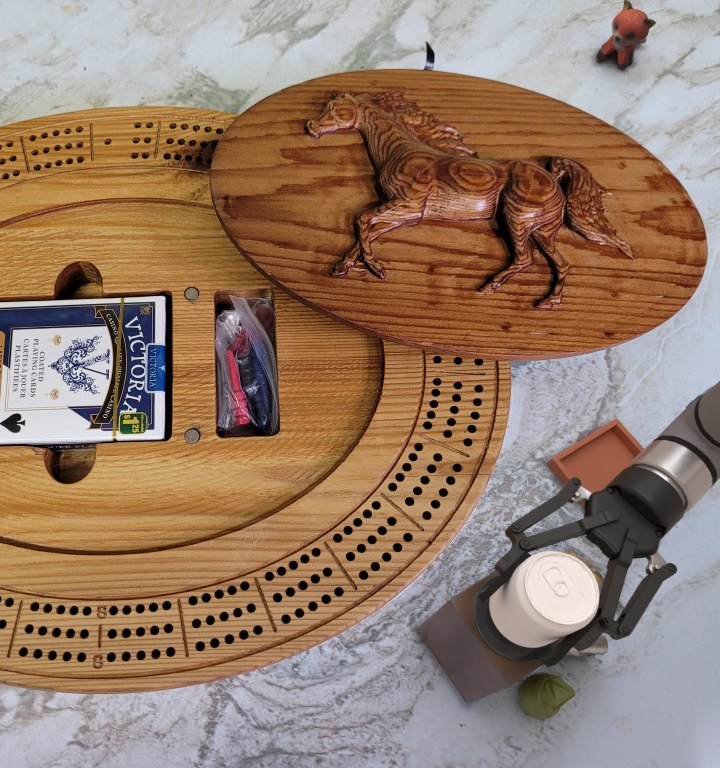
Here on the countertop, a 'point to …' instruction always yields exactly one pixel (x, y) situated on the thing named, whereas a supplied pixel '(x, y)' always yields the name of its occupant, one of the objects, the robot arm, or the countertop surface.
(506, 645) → the coaster
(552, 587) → the beverage can
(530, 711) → the green pointed bulb
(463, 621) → the stand
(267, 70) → the countertop surface
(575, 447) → the tray
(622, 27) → the stuffed fox
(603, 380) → the countertop surface
